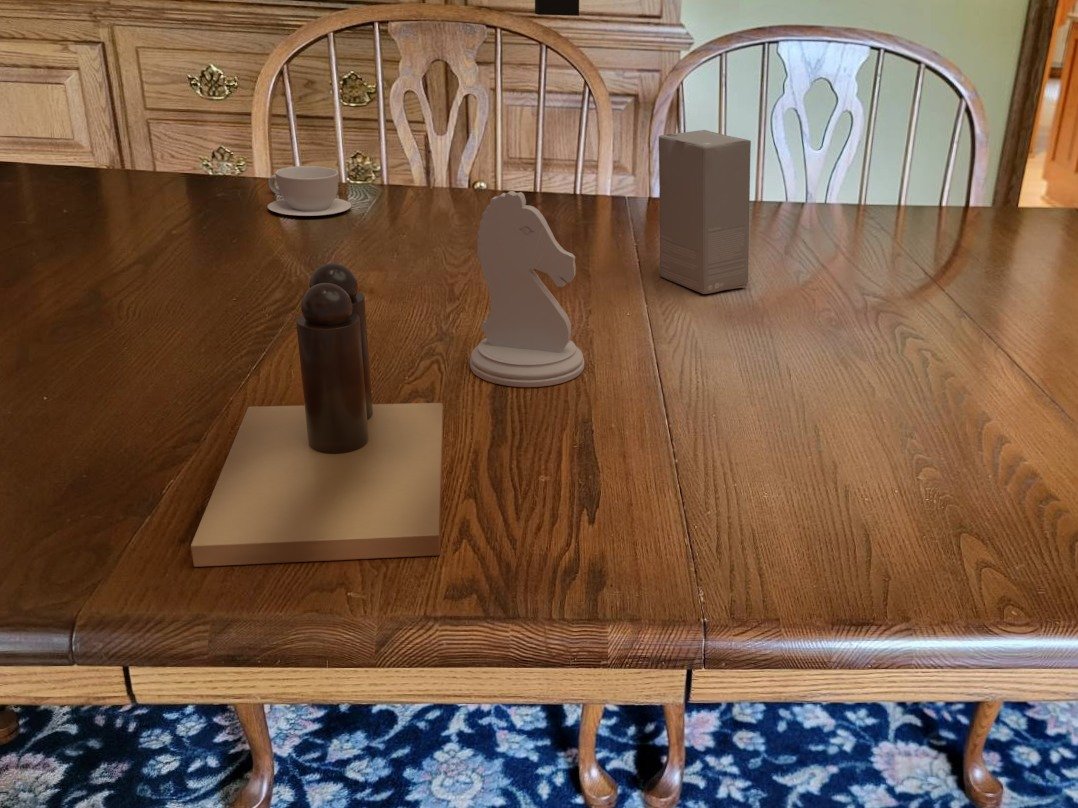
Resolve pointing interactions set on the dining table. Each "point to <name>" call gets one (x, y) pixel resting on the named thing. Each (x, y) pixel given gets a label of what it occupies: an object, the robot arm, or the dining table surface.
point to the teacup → (307, 191)
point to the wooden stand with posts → (328, 457)
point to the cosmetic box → (704, 210)
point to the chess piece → (523, 299)
